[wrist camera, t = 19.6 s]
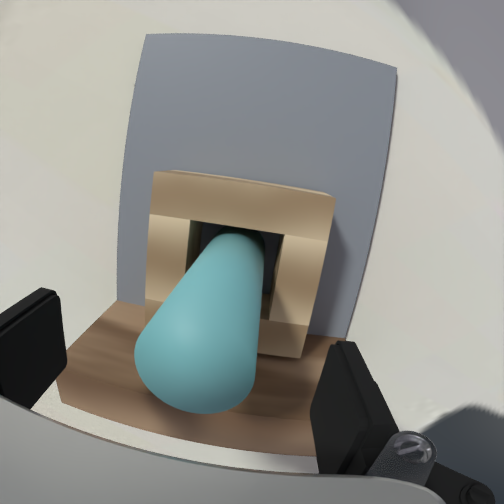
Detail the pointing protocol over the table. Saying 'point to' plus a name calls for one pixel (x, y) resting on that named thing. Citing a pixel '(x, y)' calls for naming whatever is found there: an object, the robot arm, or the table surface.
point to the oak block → (251, 217)
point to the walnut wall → (185, 423)
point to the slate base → (260, 145)
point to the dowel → (208, 328)
